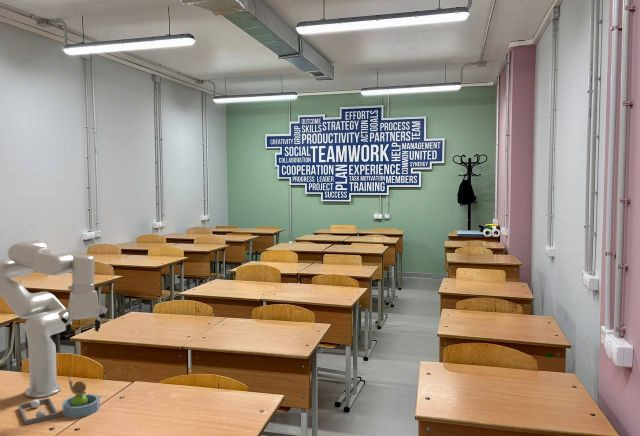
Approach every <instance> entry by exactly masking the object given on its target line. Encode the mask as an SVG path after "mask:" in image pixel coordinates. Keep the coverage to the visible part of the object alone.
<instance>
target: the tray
mask: <svg viewBox="0 0 640 436" xmlns="http://www.w3.org/2000/svg"><path fill="white" fill-rule="evenodd" d="M38 400H39V401H40V405H44V404H48V405H49V407H50V409H51V411H52V412H53V413H49V414H45V416H41V417H36V416H35V417H34V418H28V419H27V417H26V414H25V412H24V410H23V409H26V408H30V407H31V402H32V401H30V402H24V403H19V404H18V411H19V413H20V416H21V418H22V421H23V423H24V425H25V426H27V425H30V424H32V425H33V424H37V423H41V422H44V421H47V420H51V419H52V420H53V419H55V418H56V419H57V418H59V412H58V410H57V408H56V407H55V405H54V403H53V402H52V400H51V398H50V397H48V398H44V399H38ZM31 408H32V407H31Z"/></svg>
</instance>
